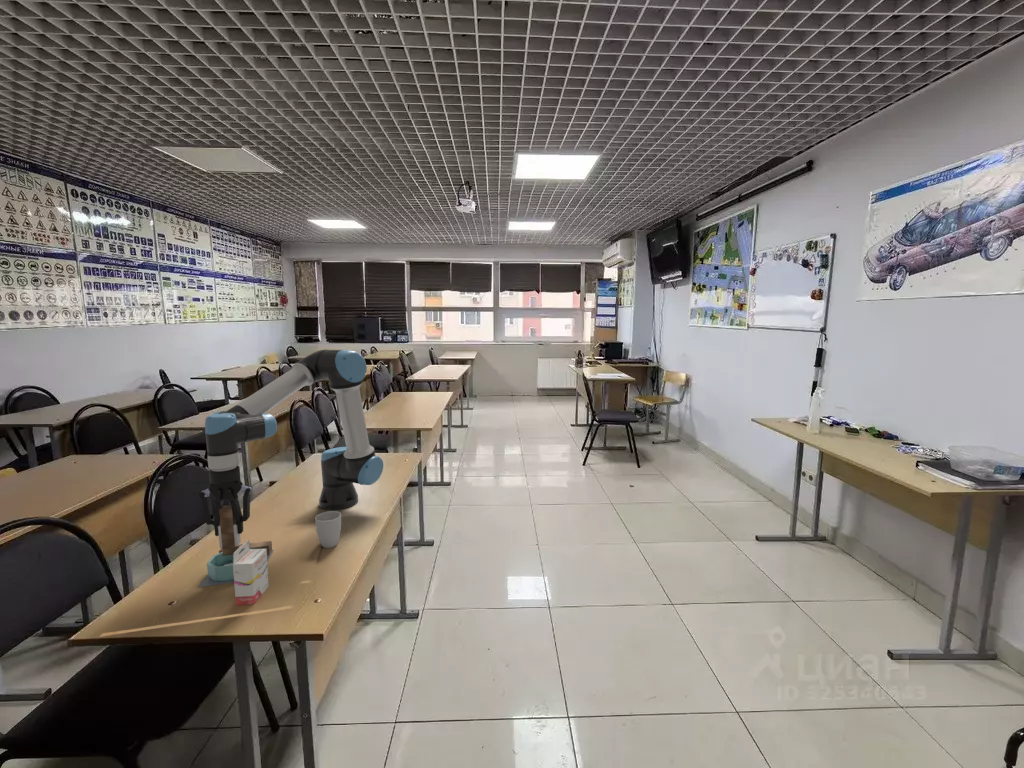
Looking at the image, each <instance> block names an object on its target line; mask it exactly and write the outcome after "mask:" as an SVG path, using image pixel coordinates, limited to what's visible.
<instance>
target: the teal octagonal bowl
mask: <svg viewBox="0 0 1024 768" xmlns="http://www.w3.org/2000/svg"><path fill="white" fill-rule="evenodd" d="M243 550H244V548H243V549H241V551H240V552H239V554H240V553H241V552H242V551H243ZM249 550H250V548H249ZM206 566H207V570H206V571H207V575H208V576H210V578H211V579H212V580H213V581H218V582H223V581H230V580H234V573H233V555H229V556H223V552H221V553H219V552H218V553H217V554H214V555H212V556H211V558H210V559H209V560H208V562H207V563H206Z"/></svg>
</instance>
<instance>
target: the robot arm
mask: <svg viewBox="0 0 1024 768" xmlns="http://www.w3.org/2000/svg"><path fill="white" fill-rule="evenodd" d="M367 368H368V367H367V363H366V359H365V358H364V357H363V355H362V354H361V353H359V352H358V351H355V350H350V349H320V350H317V351H315V352H312V353H310V354H308V355H307V356H305V357H303V358H301V359H300V360H298V361H296V362H295V363H294V364H292V366H291V369H290V370H288V371H287V372H285V373H284V374H282V375H280V376H279V377H277V378H276V379H274V380H272V381H271V382H270V383H267V384H266V385H264V386H263V387H262V388H260V389H259V390H257V391H256V392H254V393H252V394H251V395H249V396H248V397H246V398H244V400H243V399H242V401H240V402H239V403H236V404H235V405H234V406H232V407H230V408H229V409H228V410H221V411H216V412H214V413H212V414H210V415H208V416H207V417H205V421H204V433H205V440H206V441H205V442H206V451H207V466H208V469H209V470H208V476H209V477H208V478H209V479H208V481H209V486H208V488H206V489H202V490H201V491H200V492H199V493H198V497H199V498H200V499H201V502H202V507H203V513H204V517H205V523H206V525H207V526H209V525H212V526H213V527H214V528H213V529H214V536H215V537H218V541H219V544H218V545H219V548H220V549H221V548H222V539H221V526H220V514H219V510H220V509H221V508H222V507H223V506H224V502H225V500H228V503H230V505H231V506H232V510H233V513H234V517H235V521H236V522H235V524H234V525H233V528H234V541H235V546H238V545H240V544H241V543H242V541H241V540H242V539H241V534H242V533H243V532H244V522H247V521H248V519H249V518H250V516H251V494H252V493H251V492H252V490H253V486H252V485H249V486H247V485H244V484H243V482H242V480H241V469H240V468H241V467H240V466H239V464H240V456H239V455H240V454H239V444H245V443H249V442H254V441H258V440H264V439H267V438H271V437H272V436H274V435H275V434H276V433H277V429H278V425H277V424H278V422H277V420H276V418H275V416H274V415H273V414H271V413H268V412H269V411H271V410H272V409H273V408H274V407H277V405H279V404H280V403H283V402H284V401H285V400H287V399H288V398H289V397H291V396H292V395H294V394H295V393H296V392H298V391H299V390H301V389H302V388H303V387H305V386H307V387H308V386H312V385H313V384H314V383H317V382H320V381H328V384H329V389H330V390H332V391H334V393H335V396H336V400H337V407H338V412H339V417H340V421H341V426H342V432H343V437H344V442H345V446H338V447H333V448H330V449H329V448H328V449H327V450H324V451H323V452H322V453H321V455H320V456H321V457H320V465H321V466H320V467H321V481H322V487H321V492H320V496H319V499H318V506H319V508H321V509H322V508H323V510H328V511H336V510H335V509H337V510H343V509H346V508H350V507H352V505H353V506H354V505H356V504H357V503H358V502H357V501H359V495H358V492H357V490H356V487H355V484H358V485H361V486H372V485H373V484H375V483H377V481H378V480H379V479H380V478H381V475H382V473H383V472H384V471H383V470H384V461H383V459H382V457H380V456H378V455H376V451H375V447H374V446H373V445H371V444H370V441H369V440H370V439H369V436H368V435H369V434H368V429H367V423H366V418H365V412H364V408H363V407H364V406H363V402H362V401H363V400H362V396H361V395H362V394H361V389H360V388H361V386H362V385H363V380H364V379H365V377H366V373H367V370H368V369H367ZM240 491H241V493H242V494H243V496H242V509H241V505H240V501H239V495H238V494H239V492H240ZM211 494H212V495H213V497H215V501H214V502H215V503H214V504H215V505H214V506H215V508H214V511H213V505H212V504H213V503H212V499H211ZM355 503H356V504H355Z"/></svg>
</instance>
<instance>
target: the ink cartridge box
mask: <svg viewBox="0 0 1024 768" xmlns="http://www.w3.org/2000/svg"><path fill="white" fill-rule="evenodd" d="M249 543H250V539H247V541H245V542H243V545H242V546H241V547H240V548H238V549H237V550H236V551H235V552H234V554H233V573H234V596H235V597H234V598H235V606H243V605H244V606H245V605H246V606H247V605H255V604H256V603H257V601H259V599H260V598H261V596H262V595H263V594H264V593H265V591H266V590H267V589H268V588H269V569H268V562H267V549H250V550H249ZM243 548H244V550H243V551H242V552H241V553H240V554H239V552H240V551H241V549H243Z"/></svg>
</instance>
